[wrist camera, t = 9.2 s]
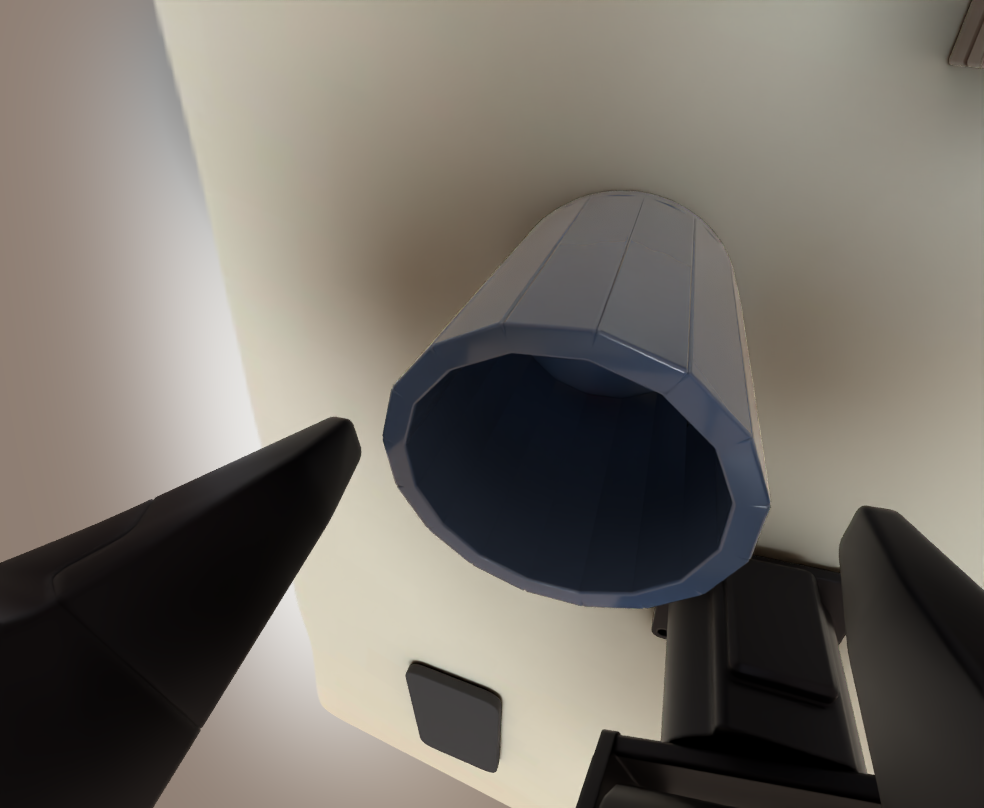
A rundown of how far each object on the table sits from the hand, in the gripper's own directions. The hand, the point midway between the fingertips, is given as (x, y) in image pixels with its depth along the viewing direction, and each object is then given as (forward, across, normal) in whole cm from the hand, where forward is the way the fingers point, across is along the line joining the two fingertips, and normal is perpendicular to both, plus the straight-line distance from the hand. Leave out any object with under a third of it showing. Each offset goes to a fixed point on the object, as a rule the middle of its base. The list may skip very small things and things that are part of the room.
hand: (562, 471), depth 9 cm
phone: (+7, +10, +36) cm, 38 cm away
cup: (+7, 0, 0) cm, 7 cm away
